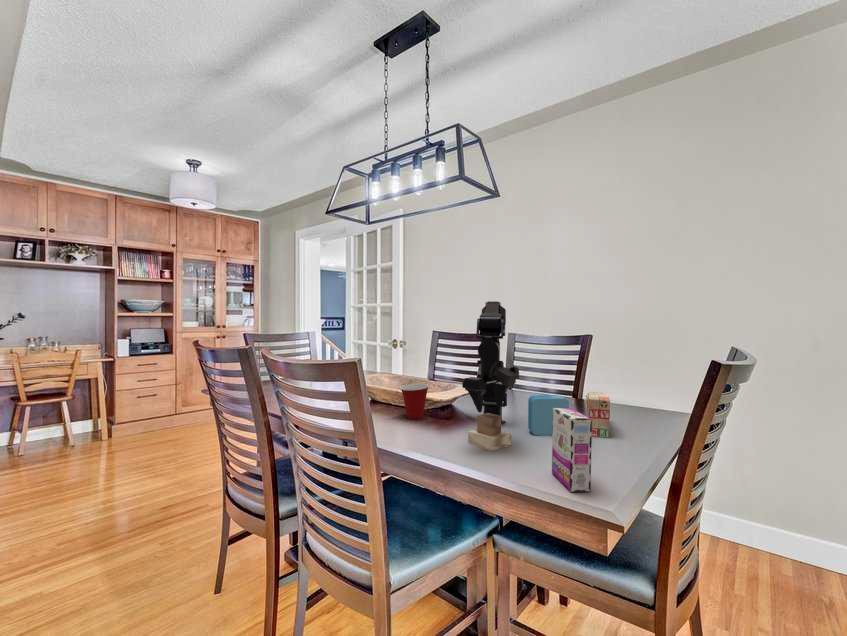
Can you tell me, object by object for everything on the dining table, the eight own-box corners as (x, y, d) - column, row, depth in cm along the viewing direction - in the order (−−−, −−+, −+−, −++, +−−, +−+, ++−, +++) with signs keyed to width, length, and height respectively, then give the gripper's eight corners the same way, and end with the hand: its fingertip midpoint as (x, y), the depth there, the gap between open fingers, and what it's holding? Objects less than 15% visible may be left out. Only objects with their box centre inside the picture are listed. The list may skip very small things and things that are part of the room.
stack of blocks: (585, 420, 154) (586, 386, 154) (604, 421, 152) (605, 387, 152) (588, 436, 134) (588, 398, 134) (609, 438, 132) (610, 399, 132)
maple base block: (489, 439, 132) (489, 426, 132) (511, 446, 125) (511, 433, 125) (468, 444, 127) (468, 431, 127) (489, 452, 120) (489, 438, 120)
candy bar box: (592, 492, 93) (593, 418, 93) (570, 493, 93) (571, 419, 92) (570, 472, 104) (571, 406, 104) (550, 473, 104) (551, 407, 103)
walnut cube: (487, 429, 129) (487, 412, 129) (500, 432, 125) (501, 416, 125) (477, 432, 126) (477, 415, 125) (490, 436, 122) (490, 419, 122)
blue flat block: (563, 431, 140) (564, 395, 139) (568, 435, 135) (569, 398, 135) (527, 431, 139) (528, 395, 139) (531, 435, 135) (531, 398, 135)
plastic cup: (400, 413, 162) (400, 382, 161) (428, 413, 162) (428, 382, 161) (398, 421, 151) (398, 388, 151) (428, 421, 151) (429, 388, 151)
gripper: (492, 362, 113) (491, 420, 113) (531, 357, 126) (530, 409, 126) (461, 358, 121) (460, 412, 121) (500, 354, 134) (500, 403, 134)
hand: (489, 409), depth 125 cm, fingers open, 9 cm apart
